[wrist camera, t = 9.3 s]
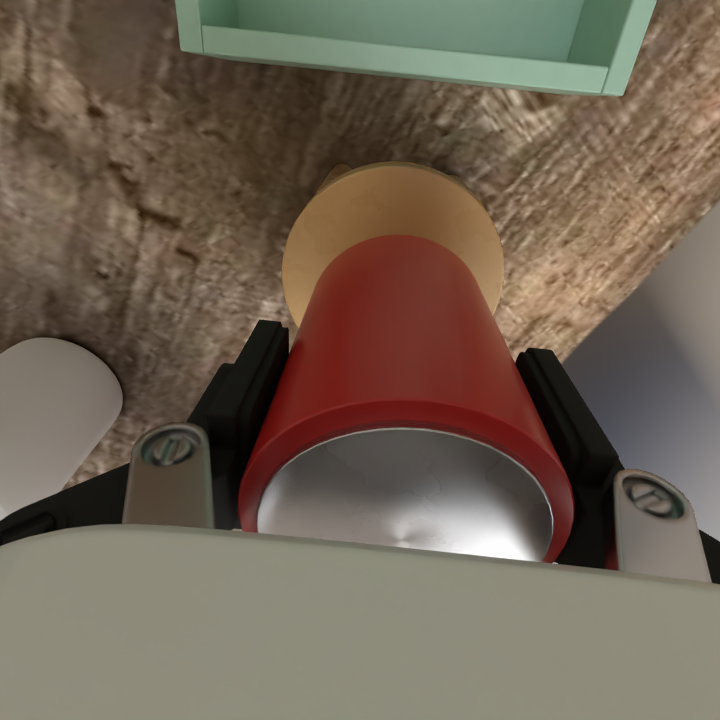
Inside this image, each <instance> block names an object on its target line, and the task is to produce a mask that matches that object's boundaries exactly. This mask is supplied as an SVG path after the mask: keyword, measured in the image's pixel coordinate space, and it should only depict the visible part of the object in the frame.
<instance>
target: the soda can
mask: <svg viewBox="0 0 720 720" xmlns="http://www.w3.org/2000/svg"><path fill="white" fill-rule="evenodd" d="M238 515H239V520H240V525H241V528H242V531H243V532H254V533H264V534H274V535H284V536H294V537H304V538H314V539H324V540H335V541H345V542H355V543H365V544H374V545H384V546H393V547H403V548H413V549H422V550H432V551H441V552H451V553H460V554H470V555H479V556H489V557H498V558H507V559H516V560H525V561H534V562H544V563H553V562H554V561H555V560H556V558H557V557H558V555H559V554H560V552H561V551H562V549H563V548H564V546H565V544H566V542H567V540H568V538H569V535H570V533H571V529H572V525H573V521H574V497H573V492H572V487H571V484H570V482H569V479H568V477H567V475H566V472H565V470H564V468H563V466H562V463H561V461H560V459H559V457H558V455H557V453H556V451H555V448H554V446H553V444H552V442H551V440H550V438H549V435H548V433H547V431H546V429H545V427H544V425H543V423H542V420H541V418H540V416H539V414H538V412H537V410H536V408H535V405H534V403H533V401H532V399H531V397H530V395H529V392H528V390H527V388H526V386H525V384H524V382H523V380H522V377H521V375H520V373H519V371H518V369H517V367H516V364H515V362H514V360H513V358H512V356H511V354H510V352H509V349H508V347H507V345H506V343H505V341H504V339H503V336H502V334H501V332H500V330H499V328H498V326H497V324H496V321H495V319H494V317H493V315H492V313H491V311H490V309H489V306H488V304H487V302H486V300H485V298H484V296H483V293H482V291H481V289H480V287H479V285H478V283H477V281H476V278H475V277H474V275H473V274H472V272H471V270H470V269H469V268H468V267H467V265H466V264H465V263H464V262H463V261H462V260H461V259H460V258H459V257H458V256H457V255H456V254H454V253H453V252H452V251H450V250H449V249H447V248H446V247H444V246H442V245H440V244H438V243H436V242H434V241H431V240H428V239H425V238H422V237H417V236H411V235H384V236H379V237H375V238H370V239H367V240H365V241H362V242H359V243H357V244H355V245H353V246H352V247H350V248H348V249H346V250H345V251H344V252H342V253H341V254H339V255H338V256H337V257H336V258H335V259H334V260H333V261H332V262H331V263H330V264H329V265H328V266H327V267H326V269H325V270H324V271H323V272H322V274H321V276H320V277H319V279H318V281H317V283H316V285H315V288H314V290H313V293H312V295H311V298H310V301H309V303H308V306H307V308H306V311H305V314H304V316H303V319H302V322H301V324H300V327H299V329H298V332H297V335H296V337H295V340H294V343H293V345H292V348H291V351H290V353H289V356H288V358H287V361H286V364H285V366H284V369H283V372H282V374H281V377H280V380H279V382H278V385H277V387H276V390H275V393H274V395H273V398H272V401H271V403H270V406H269V409H268V411H267V414H266V416H265V419H264V422H263V424H262V427H261V430H260V432H259V435H258V437H257V440H256V443H255V445H254V448H253V451H252V453H251V456H250V459H249V461H248V464H247V466H246V469H245V472H244V474H243V477H242V480H241V482H240V487H239V492H238Z"/></svg>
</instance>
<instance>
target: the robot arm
mask: <svg viewBox="0 0 720 720" xmlns="http://www.w3.org/2000/svg"><path fill="white" fill-rule="evenodd" d="M288 356H289V330H288V328H285V327H282V324H281V322H278V321H268V320H259V321H258V323H257V325H256V327H255V328H254V330H253V332H252V334H251V335H250V337H249V339H248V341H247V342H246V344H245V346H244V348H243V350H242V351H241V353H240V355H239V357H238V358H237V360H236V362H235V364H228V363H224V364H222V365H221V366H220V368H219V369H218V371H217V373H216V374H215V376H214V378H213V379H212V381H211V383H210V384H209V386H208V387H207V389H206V391H205V392H204V394H203V396H202V397H201V399H200V401H199V402H198V404H197V405H196V407H195V409H194V410H193V412H192V414H191V415H190V417H189V418H188V420H187V422H172V423H168V424H163V425H160V426H157V427H155V428H153V429H151V430H149V431H148V432H146V433H145V434H143V435H142V436H141V437H140V438H139V439H138V440H137V441H136V443H135V444H134V447H133V449H132V453H131V460H130V463H128V464H125V465H123V466H120V467H118V468H116V469H113V470H111V471H109V472H106V473H104V474H101V475H99V476H97V477H94V478H92V479H89V480H87V481H85V482H82V483H80V484H77V485H75V486H73V487H70V488H68V489H66V490H63V491H61V492H58V493H56V494H54V495H51V496H49V497H46V498H44V499H42V500H39V501H37V502H35V503H32V504H30V505H27V506H25V507H23V508H21V509H19V510H17V511H15V512H13V513H11V514H9V515H7V516H6V517H5V518H3V519H2V520H1V521H0V720H720V542H719V541H718V540H716V539H714V538H713V537H711V536H709V535H708V534H706V533H704V532H703V531H701V530H699V529H698V526H697V522H696V518H695V514H694V510H693V508H692V506H691V503H690V502H689V500H688V499H687V498H686V497H685V495H684V494H683V493H682V492H681V491H680V490H678V489H677V488H676V487H675V486H674V485H672V484H671V483H669V482H668V481H666V480H664V479H663V478H661V477H659V476H657V475H654V474H652V473H649V472H646V471H642V470H637V469H626V470H625V469H624V467H623V465H622V464H621V462H620V461H619V459H618V458H619V456H618V454H617V453H616V451H615V450H614V448H613V446H612V445H611V443H610V442H609V440H608V438H607V437H606V435H605V434H604V432H603V431H602V429H601V427H600V426H599V424H598V423H597V421H596V420H595V418H594V416H593V415H592V413H591V412H590V410H589V408H588V407H587V405H586V404H585V402H584V400H583V399H582V397H581V396H580V394H579V392H578V391H577V389H576V388H575V386H574V384H573V383H572V381H571V380H570V378H569V376H568V375H567V374H566V372H565V370H564V369H563V367H562V365H561V364H560V362H559V361H558V359H557V357H556V356H555V354H554V353H553V351H552V350H547V349H538V348H528V349H527V350H526V352H521V353H519V355H518V357H517V360H516V363H515V364H516V367H517V369H518V371H519V373H520V375H521V377H522V380H523V382H524V384H525V386H526V388H527V390H528V392H529V395H530V397H531V399H532V401H533V403H534V405H535V408H536V410H537V412H538V414H539V416H540V418H541V420H542V423H543V425H544V427H545V429H546V431H547V433H548V435H549V438H550V440H551V442H552V444H553V446H554V448H555V451H556V453H557V455H558V457H559V459H560V461H561V463H562V466H563V468H564V470H565V472H566V475H567V477H568V479H569V482H570V484H571V487H572V492H573V497H574V521H573V525H572V529H571V533H570V535H569V538H568V540H567V542H566V544H565V546H564V548H563V549H562V551H561V552H560V554H559V555H558V557H557V558H556V560H555V561H554V562H556V563H558V564H552V563H544V562H534V561H525V560H516V559H507V558H498V557H489V556H479V555H470V554H460V553H451V552H441V551H432V550H422V549H413V548H403V547H393V546H384V545H374V544H365V543H355V542H345V541H335V540H324V539H314V538H304V537H294V536H284V535H274V534H264V533H254V532H243V531H231V530H233V529H242V528H241V525H240V520H239V515H238V492H239V487H240V482H241V480H242V477H243V474H244V472H245V469H246V466H247V464H248V461H249V459H250V456H251V453H252V451H253V448H254V445H255V443H256V440H257V437H258V435H259V432H260V430H261V427H262V424H263V422H264V419H265V416H266V414H267V411H268V409H269V406H270V403H271V401H272V398H273V395H274V393H275V390H276V387H277V385H278V382H279V380H280V377H281V374H282V372H283V369H284V366H285V364H286V361H287V358H288Z"/></svg>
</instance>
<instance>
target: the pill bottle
mask: <svg viewBox="0 0 720 720" xmlns="http://www.w3.org/2000/svg"><path fill="white" fill-rule="evenodd" d="M122 404H123V395H122V390H121V387H120V384H119V382H118V380H117V378H116V376H115V375H114V373H113V372H112V371H111V370H110V368H109V367H108V366H107V365H106V364H105V363H104V362H103V361H102V360H100V359H99V358H98V357H97V356H95V355H94V354H93V353H91V352H89V351H88V350H86V349H84V348H82V347H80V346H78V345H76V344H74V343H71V342H68V341H65V340H61V339H56V338H33V339H28V340H25V341H22V342H20V343H18V344H16V345H14V346H12V347H10V348H9V349H7V350H6V351H4V352H3V353H1V354H0V521H1V520H2V519H3V518H5V517H6V516H7V515H9V514H11V513H13V512H15V511H17V510H19V509H21V508H23V507H25V506H27V505H30V504H32V503H35V502H37V501H39V500H42V499H44V498H46V497H49V496H51V495H54V494H56V493H58V492H60V490H61V489H62V488H63V487H64V485H65V484H66V483H67V482H68V480H69V479H70V478H71V476H72V475H73V474H74V473H75V471H76V470H77V469H78V468H79V466H80V465H81V464H82V463H83V461H84V460H85V459H86V458H87V456H88V455H89V454H90V452H91V451H92V450H93V449H94V447H95V446H96V445H97V444H98V442H99V441H100V440H101V439H102V437H103V436H104V435H105V434H106V432H107V431H108V430H109V429H110V427H111V426H112V425H113V423H114V422H115V420H116V419H117V417H118V415H119V414H120V411H121V408H122Z"/></svg>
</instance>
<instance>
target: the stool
mask: <svg viewBox="0 0 720 720" xmlns="http://www.w3.org/2000/svg"><path fill="white" fill-rule="evenodd" d="M384 235H411V236H417V237H422V238H425V239H428V240H431V241H434V242H436V243H438V244H440V245H442V246H444V247H446V248H447V249H449V250H450V251H452V252H453V253H454V254H456V255H457V256H458V257H459V258H460V259H461V260H462V261H463V262H464V263H465V264H466V265H467V267H468V268H469V269H470V270H471V272H472V274H473V275H474V277H475V278H476V281H477V283H478V285H479V287H480V289H481V291H482V293H483V296H484V298H485V300H486V302H487V304H488V306H489V309H490V311H491V313H492V315H493V314H494V312H495V310H496V308H497V305H498V302H499V299H500V297H501V292H502V288H503V283H504V269H505V268H504V254H503V250H502V245H501V241H500V238H499V235H498V232H497V230H496V227H495V225H494V223H493V222H492V220H491V218H490V216H489V214H488V213H487V212H486V210H485V208H484V206H483V204H482V203H481V202H480V201H479V199H478V198H477V197H476V196H475V195H474V193H473V192H472V191H471V190H470V189H469V188H468V186H467V185H466V184H465V183H464V182H463V180H462V179H461V178H460V177H459V176H457V175H447V174H445V173H443V172H441V171H439V170H437V169H434V168H431V167H428V166H425V165H422V164H416V163H411V162H399V161H388V162H379V163H373V164H369V165H365V166H361V167H358V168H356V169H353V170H352V169H351V168H350V167H349V166H348V165H346V164H343V163H341V164H337V165H335V166H334V167H333V168H332V170H331V171H330V173H329V174H328V176H327V177H326V179H325V180H324V181H323V183H322V184H321V186H320V187H319V189H318V190H317V192H316V194H315V196H314V197H313V198H312V199H311V200H310V201H309V202H308V204H307V205H306V207H305V208H304V210H303V211H302V212H301V214H300V215H299V217H298V218H297V220H296V222H295V223H294V225H293V227H292V229H291V231H290V233H289V236H288V239H287V242H286V245H285V249H284V254H283V259H282V286H283V291H284V296H285V300H286V303H287V306H288V309H289V311H290V314H291V316H292V318H293V320H294V321H295V323H296V325H297V327H298V328H299V327H300V324H301V322H302V319H303V316H304V314H305V311H306V308H307V306H308V303H309V301H310V298H311V295H312V293H313V290H314V288H315V285H316V283H317V281H318V279H319V277H320V276H321V274H322V272H323V271H324V270H325V269H326V267H327V266H328V265H329V264H330V263H331V262H332V261H333V260H334V259H335V258H336V257H337V256H338V255H339V254H341V253H342V252H344V251H345V250H346V249H348V248H350V247H352V246H353V245H355V244H357V243H359V242H362V241H365V240H367V239H370V238H375V237H379V236H384Z"/></svg>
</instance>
